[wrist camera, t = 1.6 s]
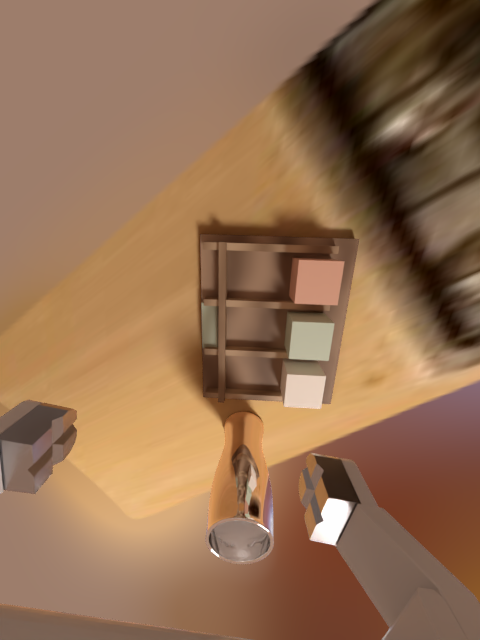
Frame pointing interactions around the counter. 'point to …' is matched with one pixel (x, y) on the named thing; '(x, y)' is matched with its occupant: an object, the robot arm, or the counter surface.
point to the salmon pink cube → (315, 281)
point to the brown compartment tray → (260, 311)
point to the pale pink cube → (302, 383)
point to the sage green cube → (308, 336)
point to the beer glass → (241, 495)
